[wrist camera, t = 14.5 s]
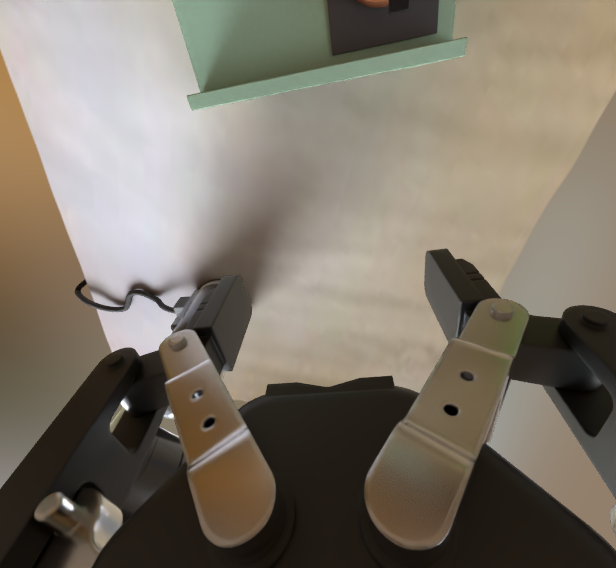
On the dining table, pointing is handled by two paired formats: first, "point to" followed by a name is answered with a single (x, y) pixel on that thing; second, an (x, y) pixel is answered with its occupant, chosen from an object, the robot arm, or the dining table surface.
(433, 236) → the dining table surface
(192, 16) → the shelf
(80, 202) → the dining table surface
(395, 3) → the copper pot
